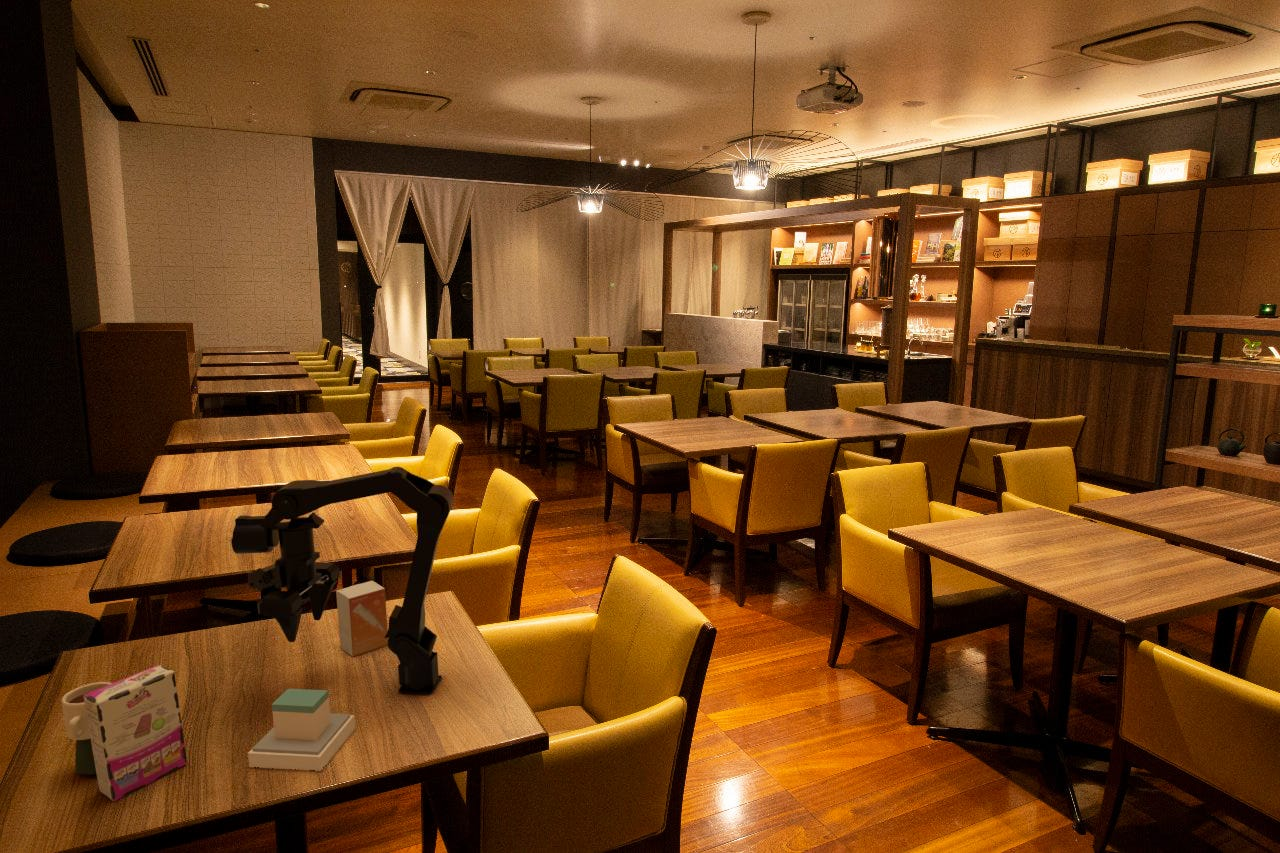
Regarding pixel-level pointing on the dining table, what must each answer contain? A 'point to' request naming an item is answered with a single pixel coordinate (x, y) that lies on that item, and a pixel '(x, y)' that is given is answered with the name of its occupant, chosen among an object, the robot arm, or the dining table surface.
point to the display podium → (302, 747)
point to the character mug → (80, 726)
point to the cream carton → (301, 714)
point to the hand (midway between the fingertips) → (304, 630)
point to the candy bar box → (135, 731)
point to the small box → (362, 617)
